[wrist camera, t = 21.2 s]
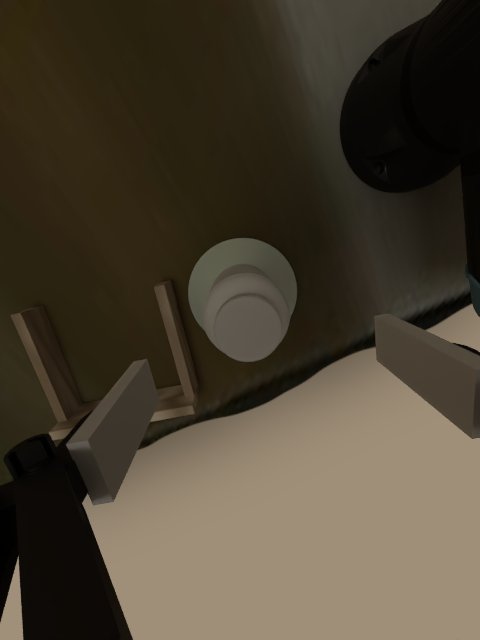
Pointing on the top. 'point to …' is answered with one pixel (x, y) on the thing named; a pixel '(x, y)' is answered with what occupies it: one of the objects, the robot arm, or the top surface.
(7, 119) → the top surface
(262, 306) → the pill bottle
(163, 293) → the oak stall
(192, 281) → the sage coaster
